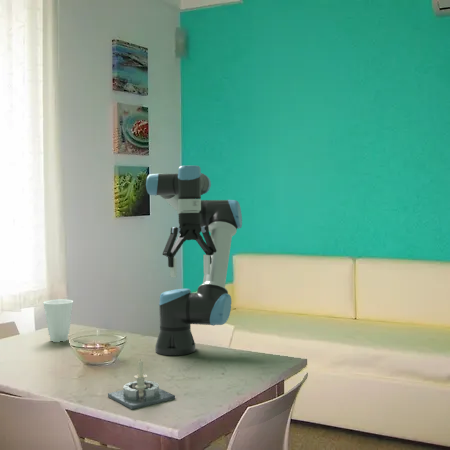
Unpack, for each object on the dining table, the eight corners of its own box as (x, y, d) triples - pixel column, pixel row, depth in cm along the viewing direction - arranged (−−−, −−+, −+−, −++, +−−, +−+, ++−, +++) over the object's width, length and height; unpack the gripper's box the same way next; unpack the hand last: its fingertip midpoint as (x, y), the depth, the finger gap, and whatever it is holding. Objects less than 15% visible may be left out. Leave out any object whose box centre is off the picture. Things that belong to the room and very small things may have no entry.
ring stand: (108, 396, 174) (107, 384, 174) (149, 387, 183) (149, 375, 183) (131, 409, 163) (131, 396, 163) (175, 398, 172) (174, 386, 172)
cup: (38, 343, 242) (38, 303, 242) (52, 336, 254) (51, 299, 254) (66, 343, 241) (65, 304, 240) (78, 337, 252) (77, 299, 252)
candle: (128, 396, 171) (127, 360, 171) (136, 391, 176) (136, 355, 176) (144, 398, 169) (144, 361, 169) (153, 392, 174) (152, 357, 174)
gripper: (164, 212, 189) (164, 279, 190) (226, 211, 205) (226, 273, 205) (151, 212, 195) (152, 277, 196) (213, 211, 211) (213, 271, 211)
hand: (190, 275), depth 201 cm, fingers open, 13 cm apart
